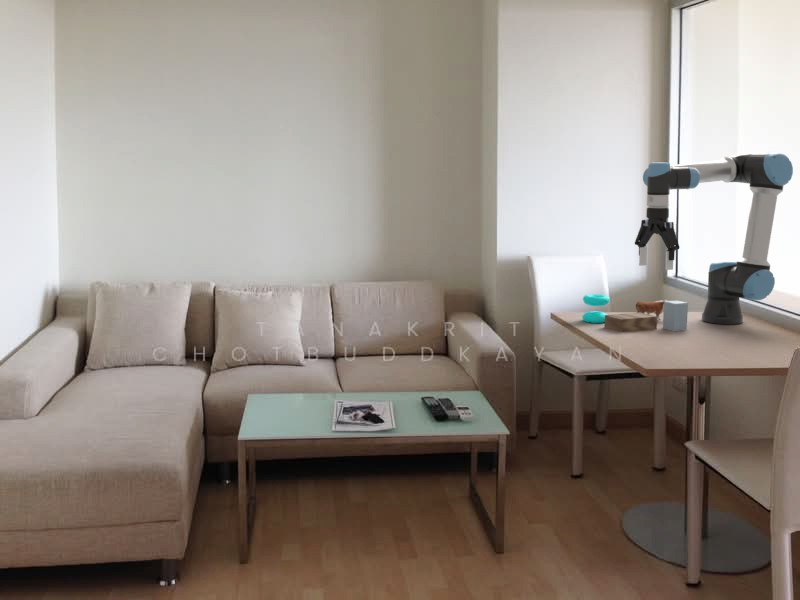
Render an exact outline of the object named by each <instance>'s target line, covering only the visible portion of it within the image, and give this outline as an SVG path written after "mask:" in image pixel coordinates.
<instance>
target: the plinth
mask: <svg viewBox="0 0 800 600" xmlns="http://www.w3.org/2000/svg"><path fill="white" fill-rule="evenodd" d="M657 325H658V321H657V316H656V315H652V314H647V313H646V312H645V313H640V312H639V313H637V312H628V313H617V314H616V313H615V314H607V315H605V323H604V325H603V327H604V328H605V329H609V330H611V331H615V332H619V333H625V332H626V333H627V332H638V331H648V330H649V331H650V330H657V328H658V327H657Z"/></svg>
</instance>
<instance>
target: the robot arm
mask: <svg viewBox="0 0 800 600" xmlns="http://www.w3.org/2000/svg"><path fill="white" fill-rule="evenodd" d="M793 167H794V166H793V163H792V161H791V160H790V159H789V157H788V156H787V155H786V154H783V153H780V152H775V151H774V152H773V151H772V152H770V151H768V152H746V153H740V154H737V155H730V156H724V157H722V158H721V159H720V160H713V161H712V160H711V161H703V162H694V163H683V164H674V165H671V163H670V162H666V161H665V162H654V161H653V162H650V163H649V164H648V167H647V168H646V169H645V170H644V172H643V174H642V181H643V183H644V185H645V186H646V187H647V188H646V189H647V190H646V191H647V193H646V195H647V196H646V206H648V207H647V208H646V218H647V219H642V220H641V223H640V227H639V230H638V232H637V233H638V234H637V235H636V237H635V241H634V245H636V246H637V247H638V256H639V257H638V258H639V259H638V260H639V261H638V262H639V263H638V266H642V267H643V266H647V265H648V264H647V263H648V257H647V256H648V247H647V245H648V243H649V241H650V240H651V238H652V237H653V235H654V234H656V235H658V236H660V237H661V239H662V241H663V244H664V245H665V248H666V249H667V250H666V251H665V270H666V271H670V270H674V261H675V253H676V251H677V250H679V249H680V244H679V241H678V238H677V235H676V232H675V227H674V225H675V224H674V223H675V222H674V221H667V219H669V217H670V216H669V215H670V213H669V212H670V209H669V206H670V190H690V189H695V188H697V187H698V186H699V184H701V183H704V184H705V183H711V182H713V183H714V182H721V181H723V182H724V183H741V184H742V183H743V184H749V186H748V188H749V189H750V191H751V192H752V194H751V200H750V201H751V202H750V206H749V207H750V208H749V213H748V221H747V227H746V233H745V240H744V243H743V244H744V246H743V252H742V256H741V258H739V259H738V260H737V261H722V262H721V261H719V262H717V261H716V262H711V263H710V265H709V269H708V277H707V279H708V280H707V285H708V286H707V301H706V303H705V306H704V309H703V312H702V313H701V320H702V321H703V322H706V323H711V324H717V325H718V324H719V325H720V324H721V325H737V324H742V323H743V322H744V315H743V312H742V308H741V304H740V299H741V298H742V299H745V300H749V301H761V300H762V301H763V300H764V299H766V298H767V297H768V296H770V294H771V293H772V291H773V290H774V287H775V284H776V280H775V276H774V273H773V272H772V271H770V270H771V264H770V263H769V261H768V257H769V256H768V255H769V248H770V244H771V235H772V231H773V230H772V229H773V225H774V218H775V213H776V208H777V206H776V205H777V201H778V196H779V195H780V194H781V193H782V192H783V191H784V186H785V185H787V184H789V182H790V181H791V179H792V178H793V173H794V168H793Z"/></svg>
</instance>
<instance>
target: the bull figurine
mask: <svg viewBox="0 0 800 600" xmlns="http://www.w3.org/2000/svg"><path fill="white" fill-rule="evenodd" d="M665 301H668V300H667V299H665V300H656V301H637V302H636V304H635V309H636V311H637V312H636V313H639V312H640V313H645V314H649V315H651V314H655V316H657V322H658V321H661V320H662V319H661V317H660V315H661V314H663V313H664V302H665Z"/></svg>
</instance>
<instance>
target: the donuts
mask: <svg viewBox="0 0 800 600" xmlns="http://www.w3.org/2000/svg"><path fill="white" fill-rule="evenodd" d="M582 300H583V303H584V304H586V305H588V306H590V307H591V306H592V307H604V306H607V305H608V304H609V303H610V300H611V299H610V297H609V296H607V295H604V294H593V293H591V294H587V295H586V294H585V295H584V296H583V298H582ZM605 315H608V313H605V312H604V311H599V310H598V311H595V310H593V311H591V310H590V311H587V312H586V311H585V312H584V314H582V316H581V317H582V321H584V322H586V323H589V322H591V324H605V323H604V322H605Z"/></svg>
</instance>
